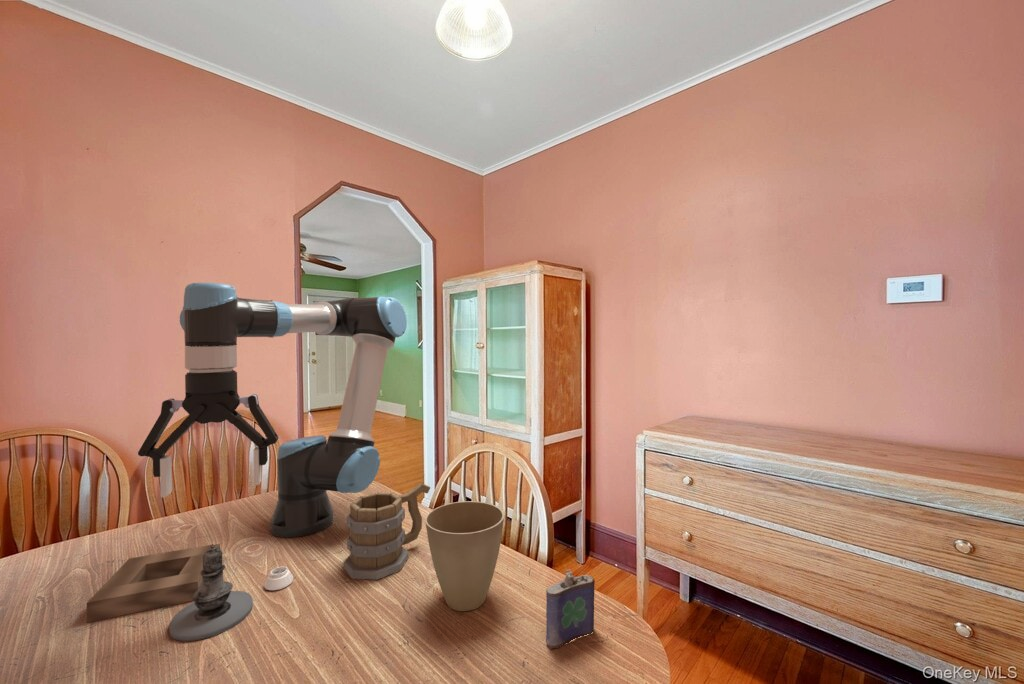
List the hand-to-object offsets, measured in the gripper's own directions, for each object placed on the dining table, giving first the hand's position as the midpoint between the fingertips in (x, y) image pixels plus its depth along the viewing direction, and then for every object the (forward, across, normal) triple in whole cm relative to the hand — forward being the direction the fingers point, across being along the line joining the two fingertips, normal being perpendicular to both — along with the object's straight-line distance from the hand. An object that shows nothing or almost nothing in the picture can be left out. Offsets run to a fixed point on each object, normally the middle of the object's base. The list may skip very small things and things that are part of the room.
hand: (213, 488), depth 74 cm
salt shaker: (+22, 0, 0) cm, 22 cm away
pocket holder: (+23, +12, -15) cm, 30 cm away
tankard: (+24, -32, -8) cm, 40 cm away
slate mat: (+23, 0, 0) cm, 23 cm away
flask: (+23, -56, +30) cm, 68 cm away
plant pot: (+23, -43, +13) cm, 50 cm away
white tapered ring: (+23, -9, -6) cm, 26 cm away
